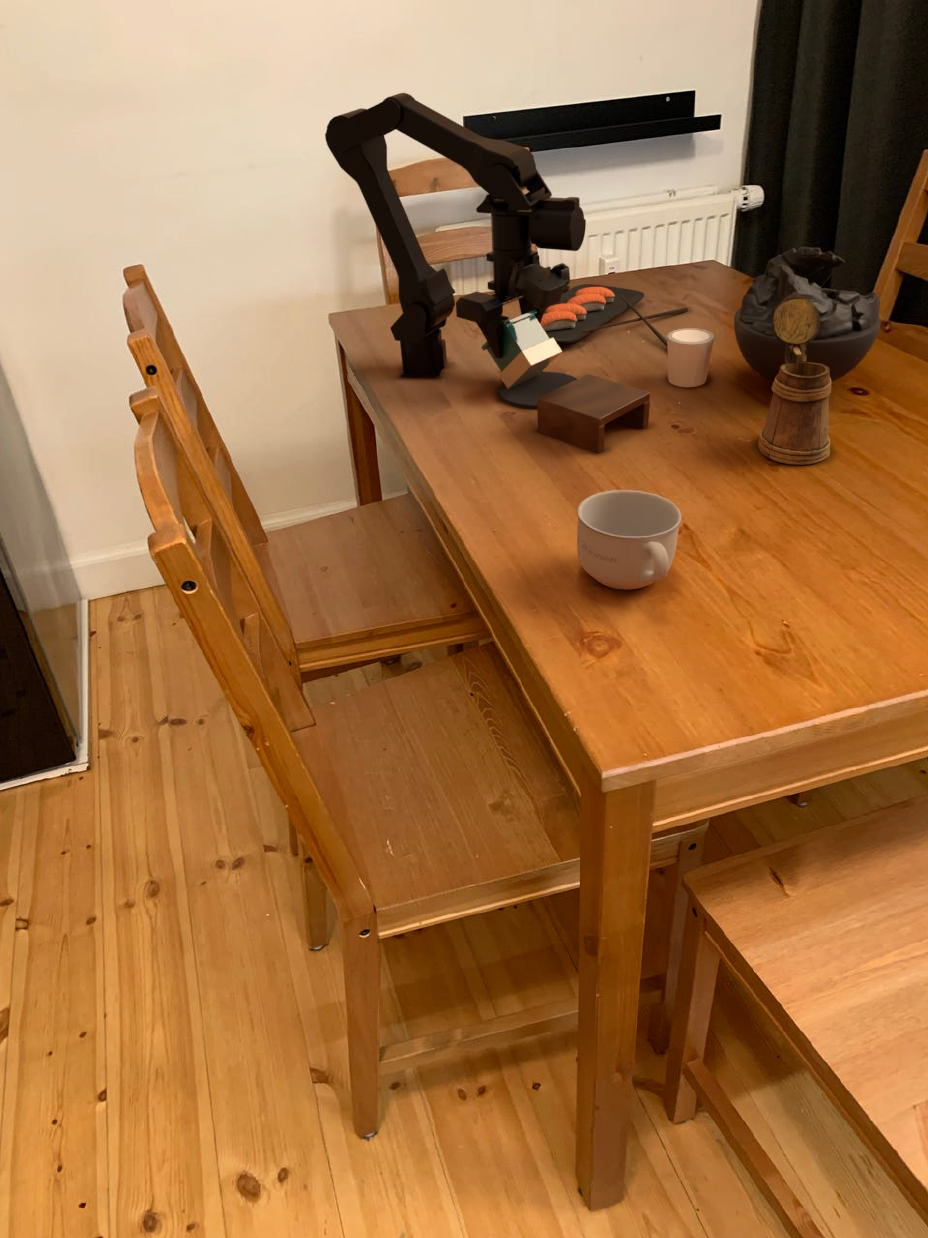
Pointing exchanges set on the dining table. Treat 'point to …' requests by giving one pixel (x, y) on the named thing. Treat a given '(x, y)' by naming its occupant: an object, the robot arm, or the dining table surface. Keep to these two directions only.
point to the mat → (533, 389)
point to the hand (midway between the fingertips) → (514, 350)
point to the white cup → (689, 356)
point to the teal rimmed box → (524, 350)
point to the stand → (590, 410)
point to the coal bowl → (842, 313)
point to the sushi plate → (593, 312)
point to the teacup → (627, 537)
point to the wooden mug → (797, 390)
